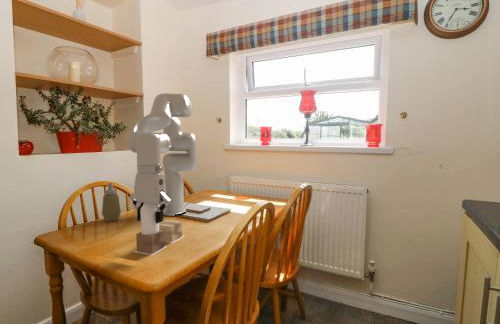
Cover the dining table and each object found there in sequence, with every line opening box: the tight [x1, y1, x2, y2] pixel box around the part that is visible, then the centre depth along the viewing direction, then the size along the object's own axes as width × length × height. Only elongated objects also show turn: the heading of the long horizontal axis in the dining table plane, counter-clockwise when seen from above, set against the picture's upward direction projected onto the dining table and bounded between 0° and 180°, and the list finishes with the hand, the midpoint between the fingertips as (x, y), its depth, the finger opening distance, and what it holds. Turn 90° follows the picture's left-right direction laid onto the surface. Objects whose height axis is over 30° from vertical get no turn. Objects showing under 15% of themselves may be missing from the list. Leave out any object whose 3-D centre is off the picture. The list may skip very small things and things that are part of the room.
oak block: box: [159, 219, 183, 243], centre depth 107 cm, size 6×6×6 cm
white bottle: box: [140, 203, 160, 235], centre depth 96 cm, size 6×12×6 cm
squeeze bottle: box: [101, 182, 122, 223], centre depth 133 cm, size 8×8×18 cm
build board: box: [133, 235, 185, 257], centre depth 103 cm, size 22×14×1 cm, turn 160°
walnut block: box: [135, 230, 166, 254], centre depth 97 cm, size 6×6×6 cm
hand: (150, 220), depth 96 cm, fingers open, 7 cm apart
